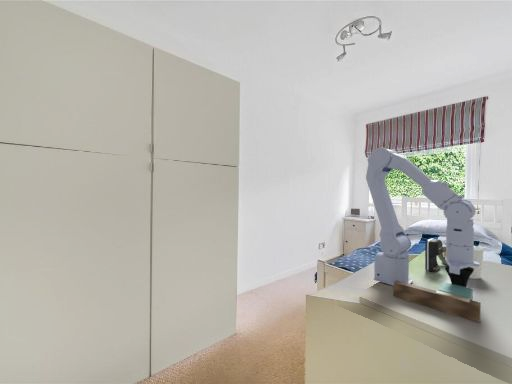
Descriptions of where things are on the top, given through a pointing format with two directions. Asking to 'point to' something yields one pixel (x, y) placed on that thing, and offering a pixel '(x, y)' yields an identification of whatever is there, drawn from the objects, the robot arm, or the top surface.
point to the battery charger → (432, 254)
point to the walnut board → (439, 300)
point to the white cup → (478, 258)
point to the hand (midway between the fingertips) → (459, 293)
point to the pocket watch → (441, 256)
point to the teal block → (457, 290)
